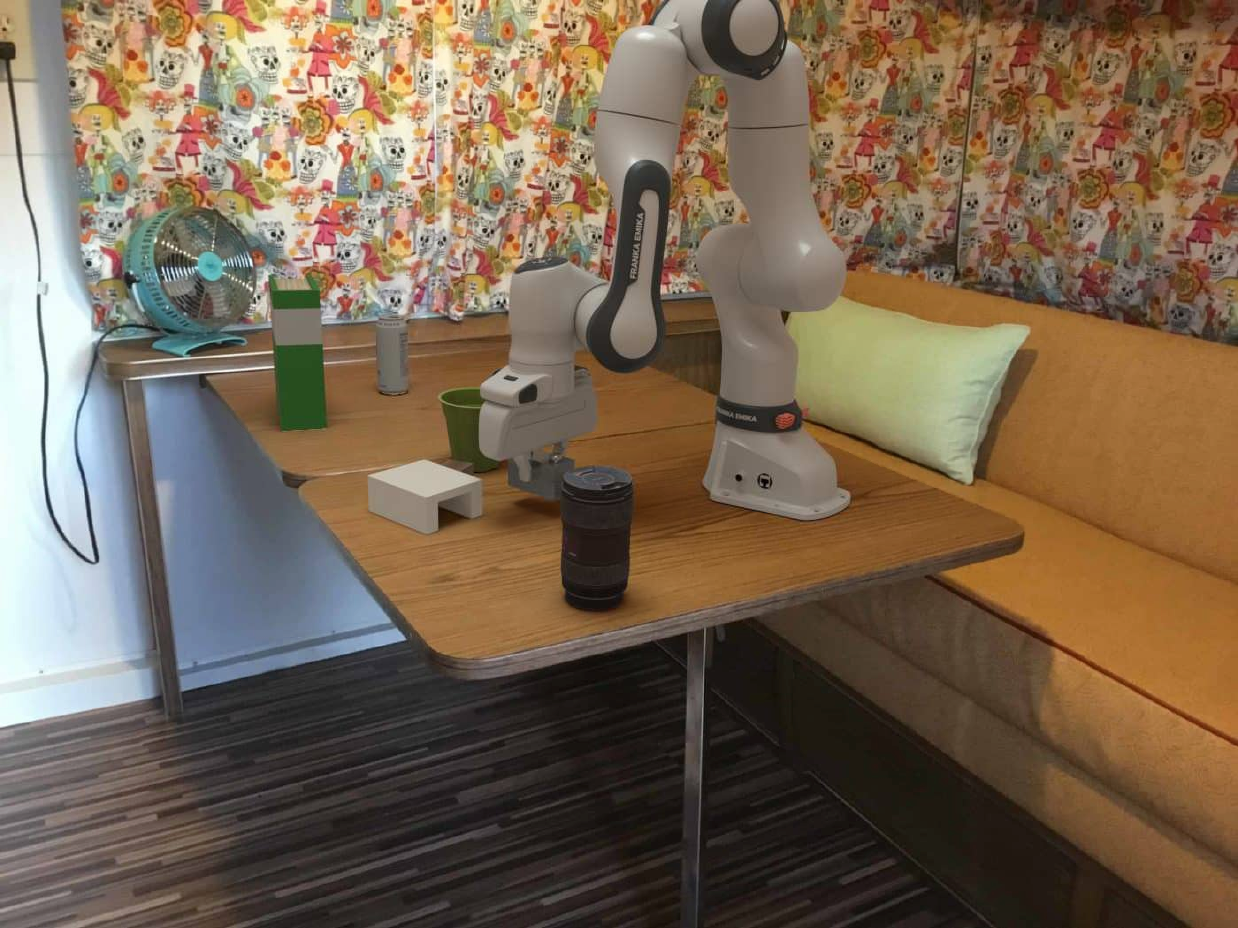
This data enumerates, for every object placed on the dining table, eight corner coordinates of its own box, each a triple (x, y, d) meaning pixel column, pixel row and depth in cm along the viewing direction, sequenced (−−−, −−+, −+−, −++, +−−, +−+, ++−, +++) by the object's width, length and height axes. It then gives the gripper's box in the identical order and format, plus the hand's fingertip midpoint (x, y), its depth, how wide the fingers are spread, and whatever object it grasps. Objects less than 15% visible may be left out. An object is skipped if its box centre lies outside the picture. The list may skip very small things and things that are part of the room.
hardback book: (276, 405, 189) (268, 274, 182) (318, 403, 192) (311, 274, 184) (281, 432, 174) (272, 291, 166) (327, 429, 176) (319, 290, 169)
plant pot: (458, 482, 153) (457, 410, 150) (426, 460, 163) (425, 391, 159) (528, 471, 160) (528, 401, 156) (493, 450, 169) (493, 384, 166)
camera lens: (544, 596, 118) (546, 474, 113) (595, 577, 124) (599, 459, 119) (591, 621, 113) (596, 493, 108) (643, 600, 118) (649, 478, 114)
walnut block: (473, 488, 152) (473, 463, 150) (460, 497, 148) (460, 471, 147) (449, 484, 153) (449, 459, 151) (436, 493, 149) (435, 467, 148)
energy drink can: (382, 387, 204) (379, 313, 200) (412, 389, 204) (410, 314, 199) (374, 395, 199) (371, 318, 194) (405, 396, 198) (402, 320, 194)
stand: (482, 514, 141) (482, 479, 140) (426, 534, 134) (425, 497, 132) (424, 493, 149) (424, 459, 147) (368, 511, 141) (367, 475, 139)
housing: (574, 493, 143) (574, 454, 141) (554, 501, 140) (554, 461, 138) (528, 478, 148) (528, 440, 146) (508, 485, 145) (507, 446, 143)
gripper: (575, 362, 148) (574, 453, 153) (470, 388, 133) (472, 487, 138) (609, 370, 144) (606, 463, 149) (504, 397, 129) (505, 499, 134)
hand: (541, 475), depth 143 cm, fingers closed on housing, 4 cm apart
